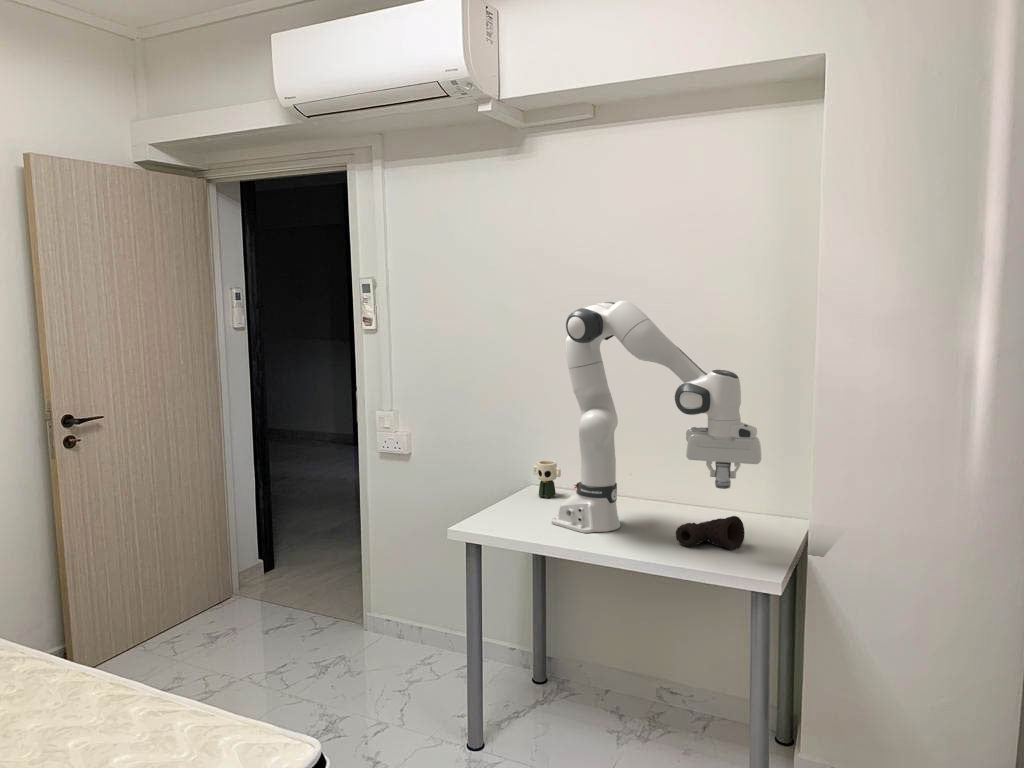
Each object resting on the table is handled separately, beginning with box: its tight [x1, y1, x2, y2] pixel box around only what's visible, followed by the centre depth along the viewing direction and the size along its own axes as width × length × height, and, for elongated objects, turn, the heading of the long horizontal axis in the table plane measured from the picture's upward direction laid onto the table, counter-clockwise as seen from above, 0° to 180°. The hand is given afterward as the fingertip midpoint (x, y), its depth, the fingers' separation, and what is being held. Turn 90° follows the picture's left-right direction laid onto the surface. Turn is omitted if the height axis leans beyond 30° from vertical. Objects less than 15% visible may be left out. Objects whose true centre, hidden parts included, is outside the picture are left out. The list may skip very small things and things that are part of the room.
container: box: [714, 461, 732, 490], centre depth 217 cm, size 4×4×7 cm
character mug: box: [533, 459, 562, 498], centre depth 286 cm, size 11×7×13 cm, turn 63°
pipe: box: [675, 515, 745, 550], centre depth 231 cm, size 10×15×15 cm
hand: (723, 477), depth 217 cm, fingers closed on container, 4 cm apart
